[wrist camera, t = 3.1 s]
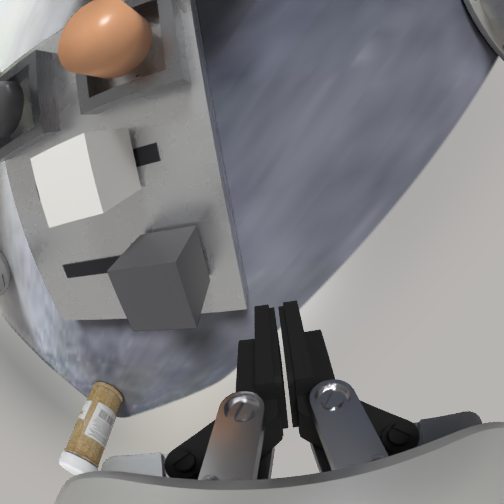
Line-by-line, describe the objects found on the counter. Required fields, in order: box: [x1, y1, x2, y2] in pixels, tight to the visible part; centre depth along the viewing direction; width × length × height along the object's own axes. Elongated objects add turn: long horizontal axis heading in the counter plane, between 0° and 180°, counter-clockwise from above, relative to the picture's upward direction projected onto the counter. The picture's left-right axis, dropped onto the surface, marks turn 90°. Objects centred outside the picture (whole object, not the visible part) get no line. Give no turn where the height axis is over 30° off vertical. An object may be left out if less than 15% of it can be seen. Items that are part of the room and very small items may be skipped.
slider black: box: [107, 225, 210, 331], centre depth 16 cm, size 4×4×5 cm
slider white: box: [30, 128, 142, 228], centre depth 14 cm, size 4×4×5 cm
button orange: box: [58, 0, 153, 79], centre depth 10 cm, size 4×4×3 cm
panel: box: [0, 0, 248, 320], centre depth 17 cm, size 18×24×4 cm
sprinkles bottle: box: [59, 382, 123, 475], centre depth 25 cm, size 5×5×14 cm
